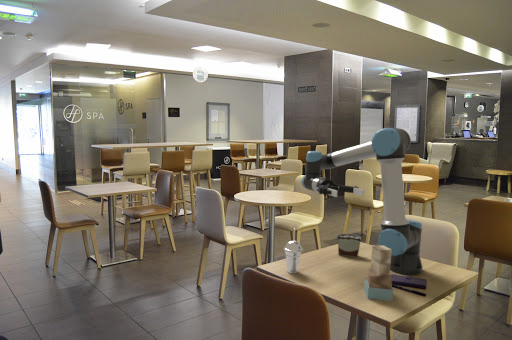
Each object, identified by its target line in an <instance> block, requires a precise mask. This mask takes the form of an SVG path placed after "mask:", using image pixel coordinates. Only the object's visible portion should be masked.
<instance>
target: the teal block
mask: <svg viewBox="0 0 512 340" xmlns="http://www.w3.org/2000/svg"><path fill="white" fill-rule="evenodd" d="M363 289H364V292H365V295H366V298H367V299H368V300H381V301H389V302H390V301H393V299H394V298H393V295H394V289H393V287H391V290H389V289H380V288H371V287H369V284H368V278H365V279H364V288H363Z"/></svg>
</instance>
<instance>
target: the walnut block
mask: <svg viewBox="0 0 512 340" xmlns="http://www.w3.org/2000/svg"><path fill="white" fill-rule="evenodd" d="M367 279H368V284H369V287H371V288H380V289H389V290H391V287H392V286H393V277H392V274H391V273H390V275H385V276H378V275H376V274H374V273H372V272H371V268H368V269H367ZM392 288H393V287H392Z"/></svg>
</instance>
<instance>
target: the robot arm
mask: <svg viewBox="0 0 512 340" xmlns="http://www.w3.org/2000/svg"><path fill="white" fill-rule="evenodd" d="M411 141H412V140H411V135H410V134H409V133H408V132H407V131H406V130H404V129H403V128H399V127H398V128H396V127H384V128H380V129H378V130H377V131H376V132H375V133H374V134H373V135H372V138H371V140H370V141H367V142H363V143H360V144H358V145H354V146H351V147H347V148H343V149H341V150H337V151H334V152H329V153H327V154H323V153H322V152H321V151H318V150H317V151H316V150H309V151H307V153H306V158H305V175H303V176H302V178H301V186H302V187H303V188H304V189H306V190H309V191H312V192H314V193H318V195H323V196H325V197H327V196H331V197H333V198H338V193H339V194H340V193H351V194H354V195H357V196H361V197H364V195H365V189H362V188H360V186H357V185H354V186H351V185H345V184H344V185H343V184H336V183H334V182H333V180H331V179H330V178H326V177H322V175H321V174H322V171H323V170H332V169H335V168H338V167H340V166H345V165H348V164H352V163H355V162H360V161H363V160H368V159H372V158H374V157H376V158H375V159H376V161H377V162H378V163H379V164H380V175H381V176H380V177H381V191H382V204H383V206H382V207H383V220H382V221H381V223H380V228H381V229H380V231H381V232H379V235H378V237H377V241H378V246H386V247H388V248H390V249H392V252H391V264H390V271H392V272H393V273H398V274H401V275H409V276H411V275H412V276H413V275H415V276H416V275H420V274H422V273H423V264H422V259H421V255H420V251H421V241H422V231H423V224H422V223H421V222H420V221H418V220H412V219H406V211H405V209H406V207H405V196H404V178H403V167H402V165H403V164H402V163H403V161H404V160H405V159H406V154H405V153H406V152H407V151H408V150H409V149H410V146H411V143H412V142H411Z"/></svg>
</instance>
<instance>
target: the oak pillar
mask: <svg viewBox="0 0 512 340" xmlns="http://www.w3.org/2000/svg"><path fill="white" fill-rule="evenodd" d="M391 252H392V249H390V248H388V247H386V246H379V245H372V247H371V262H370V269H371V272H372V273H374V274H376V275H378V276H385V275H390V274H391V270H390V264H391Z"/></svg>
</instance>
